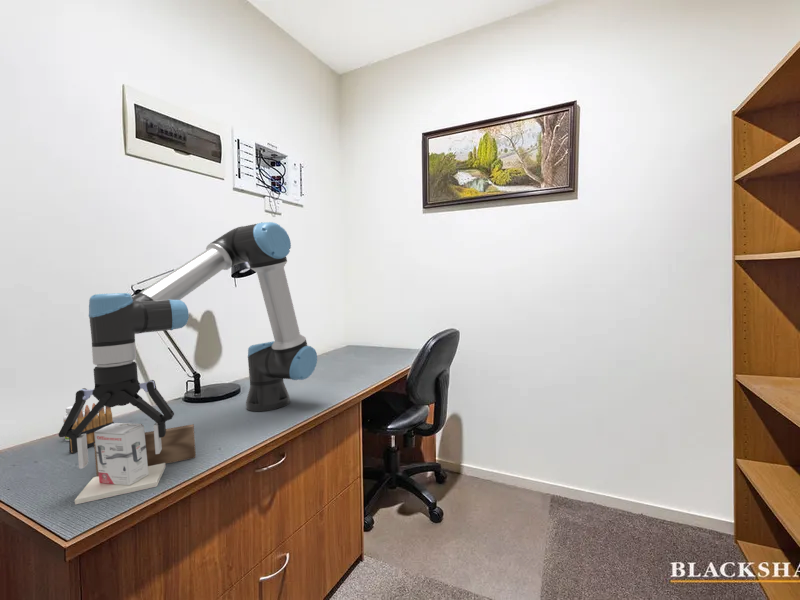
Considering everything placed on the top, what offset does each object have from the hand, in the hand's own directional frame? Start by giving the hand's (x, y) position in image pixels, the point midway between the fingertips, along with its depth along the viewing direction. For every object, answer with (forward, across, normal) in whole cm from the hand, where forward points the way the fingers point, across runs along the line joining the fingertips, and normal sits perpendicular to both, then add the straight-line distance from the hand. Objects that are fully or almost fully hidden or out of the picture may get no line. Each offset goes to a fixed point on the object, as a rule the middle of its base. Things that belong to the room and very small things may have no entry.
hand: (122, 458), depth 81 cm
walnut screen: (+6, -3, -8) cm, 10 cm away
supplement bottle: (+6, +22, -42) cm, 48 cm away
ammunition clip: (+6, +15, -32) cm, 36 cm away
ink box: (+5, 0, 0) cm, 5 cm away
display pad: (+6, 0, 0) cm, 6 cm away
